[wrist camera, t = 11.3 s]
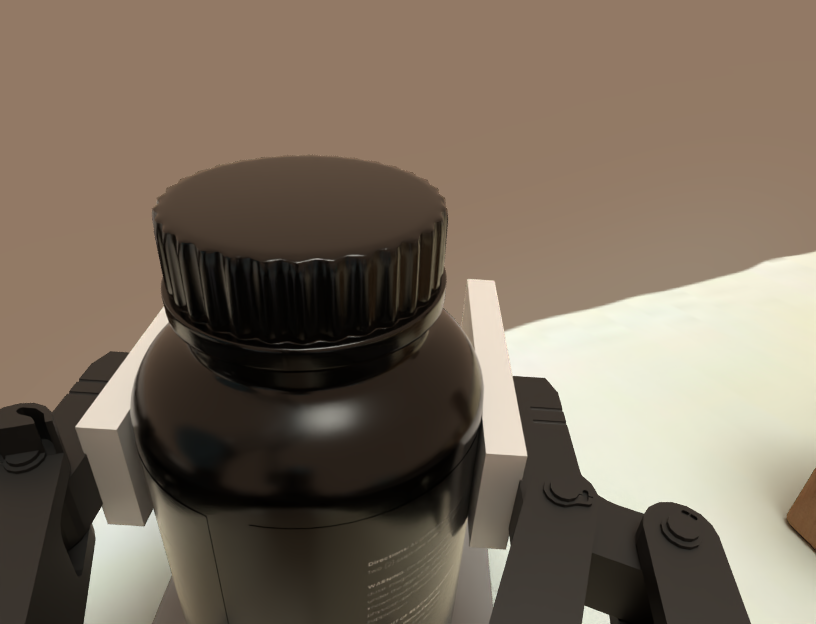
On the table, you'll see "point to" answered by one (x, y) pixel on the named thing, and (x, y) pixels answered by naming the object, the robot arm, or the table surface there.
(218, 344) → the supplement bottle
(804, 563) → the table surface
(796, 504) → the wooden block
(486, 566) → the felt pad
